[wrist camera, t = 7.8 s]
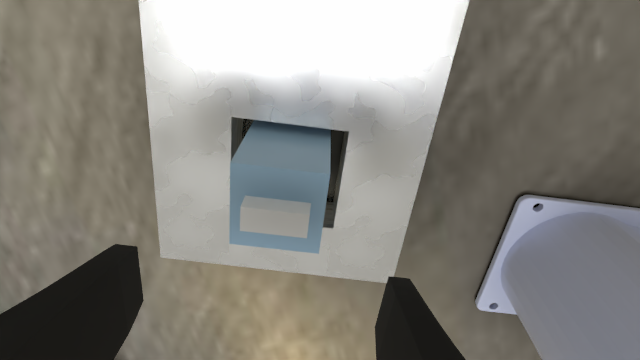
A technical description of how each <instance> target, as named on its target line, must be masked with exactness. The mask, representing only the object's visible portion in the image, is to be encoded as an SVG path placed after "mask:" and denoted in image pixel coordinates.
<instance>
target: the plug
mask: <svg viewBox="0 0 640 360" xmlns="http://www.w3.org/2000/svg"><path fill="white" fill-rule="evenodd" d="M330 158H331V129H324V128H316V127H308V126H300V125H292V124H284V123H276V122H268V121H260V120H254V121H253V123H252V124H251V126H250V128H249V130H248V132H247V133H246V135H245V137H244V139H243V141H242V142H241V144H240V146H239V148H238V149H237V151H236V153H235V155H234V157H233V158H232V160H231V162H230V228H229V244H236V245H245V246H254V247H263V248H271V249H280V250H289V251H298V252H307V253H316V254H319V249H320V242H321V235H322V228H323V222H324V215H325V208H326V201H327V194H328V187H329V180H330Z"/></svg>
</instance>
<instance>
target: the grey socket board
mask: <svg viewBox="0 0 640 360" xmlns="http://www.w3.org/2000/svg"><path fill="white" fill-rule="evenodd" d="M468 3H469V0H139V10H140V22H141V34H142V45H143V57H144V69H145V80H146V92H147V103H148V115H149V127H150V138H151V150H152V162H153V173H154V185H155V196H156V208H157V220H158V231H159V243H160V255H161V257H162V258H171V259H180V260H188V261H197V262H206V263H215V264H223V265H232V266H241V267H250V268H259V269H267V270H276V271H285V272H294V273H302V274H311V275H320V276H329V277H337V278H346V279H355V280H364V281H373V282H381V283H387V280H388V276H390V277H394V274H395V270H396V266H397V263H398V259H399V255H400V252H401V248H402V244H403V241H404V237H405V233H406V230H407V226H408V222H409V219H410V215H411V212H412V208H413V204H414V201H415V197H416V193H417V190H418V186H419V182H420V179H421V175H422V171H423V168H424V164H425V160H426V157H427V153H428V149H429V146H430V142H431V138H432V135H433V131H434V127H435V124H436V120H437V116H438V113H439V109H440V105H441V102H442V98H443V94H444V91H445V87H446V83H447V80H448V76H449V72H450V69H451V65H452V62H453V58H454V54H455V51H456V47H457V43H458V40H459V36H460V32H461V29H462V25H463V21H464V18H465V14H466V10H467V7H468ZM243 118H244V119H252V120H260V121H268V122H276V123H284V124H292V125H300V126H308V127H316V128H324V129H332V130H340V131H344V137H343V144H342V150H341V156H340V162H339V169H338V175H337V181H336V187H335V194H334V200H333V202H327V201H326V208H325V215H324V222H323V228H322V235H321V242H320V249H319V254H316V253H307V252H298V251H289V250H280V249H271V248H263V247H254V246H245V245H236V244H229V228H230V162H231V160H232V158H233V157H234V155H235V153H236V151H237V149H238V148H239V146H240V144H241V142H242V137H243Z"/></svg>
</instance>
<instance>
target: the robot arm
mask: <svg viewBox="0 0 640 360" xmlns="http://www.w3.org/2000/svg"><path fill="white" fill-rule="evenodd" d="M537 203H540V204H539V205H538V206H537V207H536V208H533V206H534V205H535V204H537ZM142 302H143V293H142V284H141V276H140V267H139V259H138V251H137V247H136V246H127V245H119V244H115V245H113V246H111V247H110V248H108V249H106V250H105V251H103V252H102V253H100V254H98V255H97V256H95V257H94V258H92V259H91V260H89V261H88V262H86V263H84V264H83V265H81V266H80V267H78V268H77V269H75V270H74V271H72V272H70V273H69V274H67V275H66V276H64V277H62V278H61V279H59V280H58V281H56V282H54V283H53V284H51V285H50V286H48V287H46V288H45V289H43V290H42V291H40V292H38V293H36V294H35V295H33V296H31V297H30V298H28V299H26V300H24V301H23V302H21V303H19V304H17V305H16V306H14V307H12V308H11V309H9V310H7V311H5V312H4V313H2V314H0V360H113V359H114V358H115V356H116V354H117V353H118V351H119V349H120V348H121V346H122V344H123V343H124V341H125V339H126V337H127V336H128V334H129V332H130V330H131V327H132V325H133V323H134V321H135V319H136V316H137V314H138V312H139V309H140V307H141V305H142ZM475 303H476V305H477V308H478V309H479V310H482V311H490V312H499V313H508V314H517V315H518V317H519V319H520V321H521V322H522V324H523V326H524V328H525V330H526V331H527V333H528V335H529V337H530V339H531V341H532V342H533V344H534V346H535V348H536V350H537V351H538V353H539V355H540V357H541V359H542V360H640V208H633V207H625V206H617V205H609V204H601V203H593V202H584V201H576V200H568V199H560V198H552V197H544V196H536V195H524V196H521V197H520V198H519V199H518V200H517V202H516V204H515V206H514V209H513V211H512V214H511V216H510V218H509V221H508V223H507V226H506V228H505V230H504V233H503V235H502V238H501V240H500V242H499V245H498V247H497V250H496V252H495V254H494V257H493V259H492V262H491V264H490V267H489V269H488V271H487V274H486V276H485V279H484V281H483V283H482V286H481V288H480V291H479V293H478V295H477V298H476V300H475ZM492 303H494V304H492ZM375 337H376V359H377V360H465V358H464V357H463V356H462V354H461V353H460V352H459V350H458V349H457V348H456V346H455V345H454V344H453V342H452V341H451V339H450V338H449V337H448V335H447V334H446V332H445V331H444V330H443V328H442V327H441V325H440V324H439V323H438V321H437V320H436V318H435V317H434V315H433V314H432V312H431V311H430V309H429V308H428V306H427V305H426V303H425V302H424V300H423V298H422V297H421V295H420V294H419V292H418V291H417V289H416V288H415V286H414V284H413V283H412V282H411V280H410V279H407V278H398V277H390V276H388V280H387V284H386V288H385V292H384V295H383V299H382V303H381V307H380V310H379V314H378V318H377V322H376V326H375Z"/></svg>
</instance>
